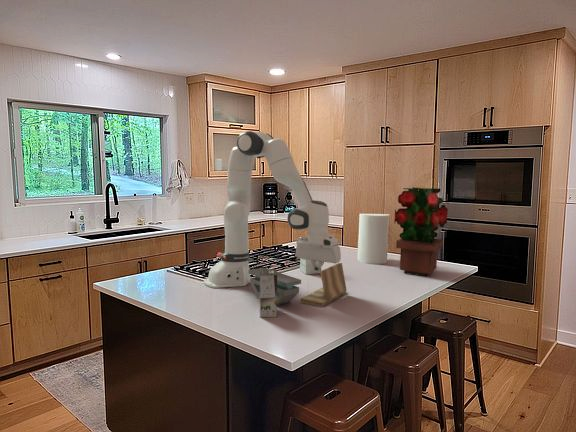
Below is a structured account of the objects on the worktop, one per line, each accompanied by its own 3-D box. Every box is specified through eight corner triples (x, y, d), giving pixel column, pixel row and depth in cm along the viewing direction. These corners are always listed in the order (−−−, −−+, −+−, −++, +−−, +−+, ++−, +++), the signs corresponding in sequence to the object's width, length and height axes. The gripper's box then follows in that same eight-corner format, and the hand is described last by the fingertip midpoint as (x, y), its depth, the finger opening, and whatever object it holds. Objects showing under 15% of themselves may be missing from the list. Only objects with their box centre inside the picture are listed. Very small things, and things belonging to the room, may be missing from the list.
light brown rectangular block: (321, 307, 176) (322, 293, 175) (300, 302, 181) (300, 289, 180) (346, 292, 196) (346, 280, 195) (326, 288, 201) (326, 277, 201)
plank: (323, 271, 177) (320, 271, 178) (328, 301, 177) (325, 301, 178) (341, 262, 193) (339, 263, 193) (346, 290, 193) (343, 290, 193)
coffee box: (276, 317, 163) (277, 275, 161) (259, 317, 163) (260, 275, 161) (275, 309, 172) (276, 268, 170) (259, 309, 172) (259, 268, 170)
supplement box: (315, 269, 237) (316, 242, 235) (321, 273, 229) (322, 245, 227) (299, 270, 234) (300, 242, 232) (305, 274, 226) (306, 245, 224)
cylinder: (389, 264, 253) (392, 216, 249) (359, 263, 253) (361, 215, 249) (383, 257, 270) (386, 212, 266) (355, 257, 270) (357, 211, 267)
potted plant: (434, 280, 221) (440, 190, 215) (391, 273, 232) (396, 188, 226) (443, 271, 240) (449, 188, 235) (403, 265, 251) (407, 186, 245)
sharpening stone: (248, 294, 190) (248, 270, 189) (262, 291, 195) (263, 267, 194) (285, 310, 171) (286, 283, 170) (300, 306, 176) (301, 279, 175)
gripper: (293, 237, 190) (292, 268, 192) (336, 242, 180) (335, 275, 181) (300, 235, 195) (299, 266, 197) (342, 240, 185) (341, 272, 187)
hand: (317, 270), depth 189 cm, fingers closed
